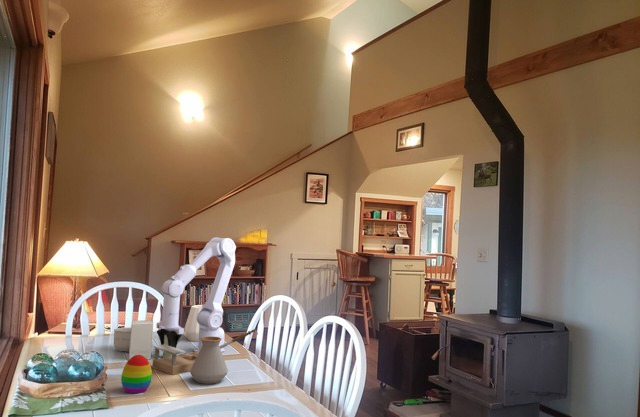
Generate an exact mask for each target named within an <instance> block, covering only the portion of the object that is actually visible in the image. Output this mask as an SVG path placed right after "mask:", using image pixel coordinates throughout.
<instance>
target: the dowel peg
mask: <svg viewBox="0 0 640 417" xmlns="http://www.w3.org/2000/svg"><path fill="white" fill-rule="evenodd" d="M164 344H165V345H168V339H167V335H166V334H165V335H164ZM162 352H163V353H162V358H165V357H170V356H172V354H170V353H167V352H165V351H162Z"/></svg>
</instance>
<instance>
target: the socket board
mask: <svg viewBox="0 0 640 417" xmlns="http://www.w3.org/2000/svg"><path fill="white" fill-rule="evenodd" d="M153 348H154V359H152V365H151V366H152V367H151V368H153V369H156V370H159V371H161V372H164V373H166V374H169V375H171V376H176V375H180V374H185V373H190V370H191V368H192V366H193V364H194V362H195V360H196V358H197V356H198V354H199V352H195V351H193V352H188V353H186V350H183V349H180V348H177V347H176V348H174V347H171V346H168V345H165V344H164V345H161V344H158V345H154V346H153ZM160 351H162V352H163V351H165V352H167V353H170V354H172V356H170V357H165V358H163V357H160Z"/></svg>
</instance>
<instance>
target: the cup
mask: <svg viewBox="0 0 640 417" xmlns="http://www.w3.org/2000/svg"><path fill="white" fill-rule="evenodd" d="M203 305H204V304H197V305H196V304H195V305H192V306H191V307H190V310H189V313H188V316H187V319H186V323H185V326H184V327H183V328H184V334H185V335H186V337H187V339H188V340H189V341H192V342H199V323H198V322H197V314H198V313H199V312H200V310H201V309H202V306H203Z"/></svg>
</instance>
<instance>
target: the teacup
mask: <svg viewBox="0 0 640 417" xmlns="http://www.w3.org/2000/svg"><path fill="white" fill-rule="evenodd" d="M130 336H131V327H119V328H118V327H117V328H115V329H114V332H113V346H114V348H116V350H117V351H120V352H129V349H130Z"/></svg>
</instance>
